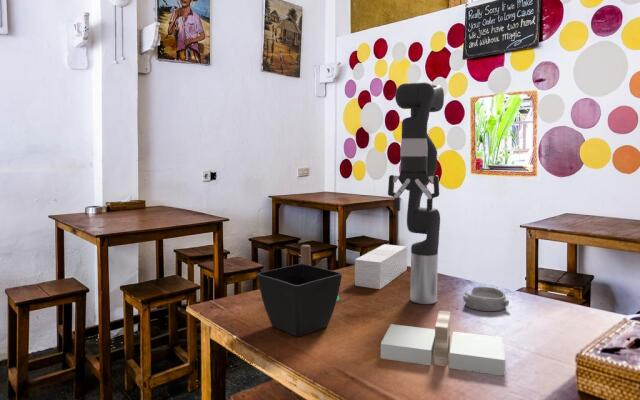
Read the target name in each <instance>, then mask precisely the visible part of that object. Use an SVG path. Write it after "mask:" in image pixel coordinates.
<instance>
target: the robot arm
mask: <svg viewBox="0 0 640 400" xmlns="http://www.w3.org/2000/svg"><path fill="white" fill-rule="evenodd" d="M394 95H395V96H394V99H395V102H396V105H397V106H398V107H399V108H401V110H402V109H403V110H406V109H407V110H410V116H408V117H406V118H404V119H402V122H401V142H400V151H399V152H400V153H399V155H400V162H399V163H400V169H399V171H400V173H399V175H395V174H391V175H389V176H388V188H387V195H388V196H389V197H393V199H394V203H393V204H394V205H393V206H394V207H393V208H394V210H396V212H400V211H401V197H400V196H401V195H402V194H403V192H404V191H405V190H407V191H409V193H408V201H407V211H406V228H407V230H408V232H410V233H413V234H422V235H426V238H425V239H424V240H422V241H418V242H417V241H416V242H414V243H412V245H411V247H410V291H409V292H410V294H409V295H410V301H411V302H412V303H415V304H421V305H432V304H435V303H437V301H438V300H437V299H438V268H439V267H438V264H439V263H438V262H439V259H438V258H439V257H438V256H439V245H440V244H439V243H440V242H439V241H440V227H441V214H440V211H439V209H437V208H436V207H435V208H434V207H433V199H434V198H435V199H436V198H438V197H439V196H440V178H439V175H435V174H436V172H437V168H438V150H437V147H436V146H435V144H434V142H433V140H432V139H431V137H430V135H429V134H428V122H429V121H428V120H429V115H430V113H437V112H440V111H441V110H442V109H443V107H444V103H445V93H444V88H443V87H442V86H441V85H439V84H432V83H430V82H427V81H426V82H424V81H423V82H407V83H401V84H399V86H398V87H397V88H396V90H395V94H394ZM398 180H399V181H398ZM397 181H398V182H400V183H401V185H400V187H399V188H398V190H397V191H396V192H394V191H395V184H396V183H397ZM430 183H431V184H433V192H431V190H430V189H429V188H428V187H427V186H428V185H429V184H430ZM423 194H424V195H425V196H426V207H421V201H422V196H423Z"/></svg>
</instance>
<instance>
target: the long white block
mask: <svg viewBox="0 0 640 400" xmlns="http://www.w3.org/2000/svg"><path fill="white" fill-rule="evenodd" d="M407 248H408V246H406V245H398V244H397V245H395V244H386V243H384V244H382V245H380V246H378V247H376V248H375V249H372V250H370V251H368V252H367V253H364V254H362V255H360V256H358V257H357V258H354V286H356V287H357V286H358V287H364V288H370V289H377V290H381V289H382V288H384V287H385V286H386V285H388V284H389V283H391V282H392V281H393V280H394V279H396V278H397V277H398V276H400V275H402V274H403V273H404V272H406V271H407V265H408V264H407V263H408V249H407Z"/></svg>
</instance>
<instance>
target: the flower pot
mask: <svg viewBox="0 0 640 400" xmlns="http://www.w3.org/2000/svg"><path fill="white" fill-rule="evenodd" d="M342 275H343V274H342V272H338V271H335V270H331V269H328V268H327V269H323V268H318V267H315V266H314V265H311V266H310V265H306V264H301V263H298V264H294V265H288V266H284V267H279V268H275V269H270V270H266V271H265V270H264V271H261V272H257V280H258V287H259V291H260V295H261V299H262V301H263V302H262V303H263V307H264V308H265V312H266V313H267V317H268V319H269V321H270V325H271V326H272V327H273V328H276V329H278V330H281V331H283V332H285V333H288V334H289V335H292V336H295V337H302V336H304V335H307V334H310V333H313V332H315V331H319V330H321V329H323V328H326V327H328V325H329V324H330V322H331V319H332V315H333V313H334V311H335V307H336V305H337V297H338V296H339V291H340V289H341V282H342V277H343V276H342Z"/></svg>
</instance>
